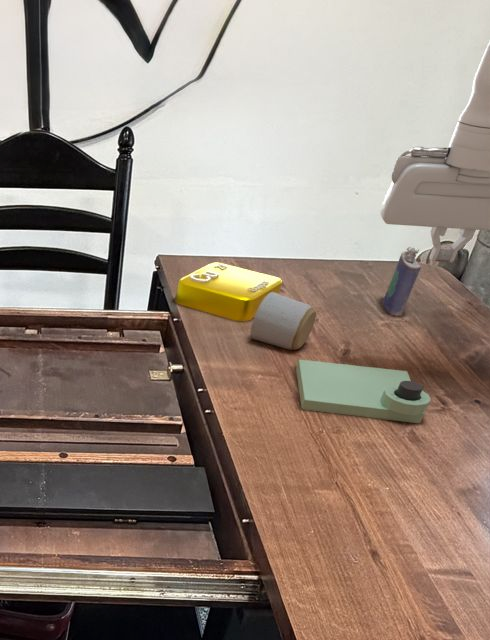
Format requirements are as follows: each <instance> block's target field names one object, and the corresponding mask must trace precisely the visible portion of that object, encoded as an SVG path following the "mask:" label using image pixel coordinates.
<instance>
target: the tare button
mask: <svg viewBox="0 0 490 640" xmlns="http://www.w3.org/2000/svg"><path fill="white" fill-rule="evenodd" d="M422 391H424V386H423V385H422V384H421V383H419V382H416V381H413V380H411V381H402V382H400V384H399V387H398V389H397V391H396V394H395V395H396V396H397V397H399V398H401V399H404V400H409V401H416V400H418V399H419V396H420V394H421V392H422Z"/></svg>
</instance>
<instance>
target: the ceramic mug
mask: <svg viewBox="0 0 490 640" xmlns="http://www.w3.org/2000/svg"><path fill="white" fill-rule="evenodd" d="M316 311H317V310H316V309H315V308H314V307H313V306H311V305H310V304H307V303H305V302H302V301H299V300H296V299H293V298H290V297H288V296H285V295H282V294H280V293H279V294H277V293H274V292H271V293H269V294H268V295H267V296H266V297H265V298H264V299H263V301H262V302H261V304H260V306H259V308H258V310H257V312H256V315H255V317H254V318H253V321H252V324H251V328H250V337H251V339H252V340H255V341H257V342H261V343H264V344H268V345H271V346H275V347H278V348H282V349H285V350H290V351H296V350H298V349H300V348H302V347H303V345H304V344H305V343H306V341H307V340H308V338H309V336H310V334H311V332H312V330H313V328H314V326H315V323H316V318H317V312H316Z"/></svg>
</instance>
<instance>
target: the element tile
mask: <svg viewBox="0 0 490 640" xmlns="http://www.w3.org/2000/svg"><path fill="white" fill-rule="evenodd" d="M282 286H283V280H282V278H281V277H278V276H275V275H270V274H266V273H262V272H258V271H254V270H250V269H246V268H242V267H238V266H234V265H231V264H226V263H223V262H218V261H217V262H212V263H209V264H207V265H205V266H203V267H201V268H199V269H197V270H195V271H193V272H191V273H189V274H187V275H185V276H183V277H180V279H178V283H177V289H176V294H175V299H174V302H175V303H176V304H177V305H180V306H183V307H185V308H190V309H193V310H197V311H200V312H204V313H207V314H211V315H214V316H217V317H221V318H225V319H228V320H230V321H231V320H232V321H236V322H249V321H250V320H251V321H252V319H254V317H255V315H256V312H257V310H258V308H259V306H260V304H261V302H262V301H263V299H264V298H265V297H266V296H267V295H268V294H269V293H271V292H274V293H277V294H280V292H281V290H282Z"/></svg>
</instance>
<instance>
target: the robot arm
mask: <svg viewBox="0 0 490 640" xmlns="http://www.w3.org/2000/svg"><path fill="white" fill-rule="evenodd" d="M466 104H467V105H466V106H465V107H464V110H462V112H461V113H460V116H459V118H458V121H457V123H456V126H455V128H454V130H453V134H452V137H451V139H450V142H449V145H448V147H424V146H413V147H412V148H411V149H408V150H407V151H405V152H402V154H400V155H399V156H398V158H396V161H395V164H394V167H393V169H392V173H391V184H390V186H389V188H388V190H387V192H386V194H385V196H384V199H383V201H382V204H381V207H380V210H379V214H380V216H381V219H382V220H383V222H384V223H385V224H386V225H393V226H411V227H425V228H426V227H427V228H431V229H430V235H431V242H432V249H431V252H430V254H429V257H428V259H429V260H430V262H441V263H451V264H453V263H454V262H455V259H456V257H457V256H458V255H457V254H458V252H459V251H460V250H461V249H462V248H463V247H465V246H466V245H468V243H469V242H470V241H471V240H472V239H473V237H474V235H475V233H476V231H488V232H489V231H490V39H489V41H488V42H487V45H486V47H485V49H484V52H483V55H482V57H481V59H480V62H479V64H478V67H477V70H476V72H475V74H474V77H473V81H472V90H471V94H470V97H469V100H468V103H466ZM448 229H455V230H456V229H458V230H459V231H458V234H459V235H460V236H459V237H458V238H457V239H456V240H455V241H454V242H453V243H452V244H451V245H442V243H441V237H444V236H445V235H446V233H447V230H448Z"/></svg>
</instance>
